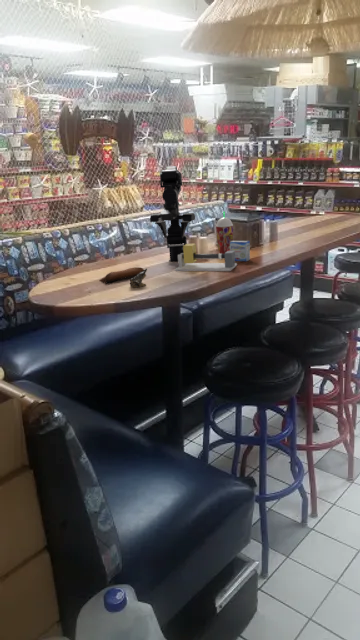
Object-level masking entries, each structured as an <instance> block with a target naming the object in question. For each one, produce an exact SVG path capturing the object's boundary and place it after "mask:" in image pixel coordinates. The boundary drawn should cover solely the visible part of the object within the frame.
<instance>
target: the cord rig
mask: <svg viewBox="0 0 360 640" xmlns="http://www.w3.org/2000/svg"><path fill="white" fill-rule="evenodd" d="M193 258H194V259H197V260H198V259H199V260H200V259H202V260H203V259H204V260H207V259H209V260H210V259H211V260H213V259H214V260H215V259H217V260H222V259H223V260H224V262H194V263H184V253H181V255H178V261H177V264H178V266H177V267H176V268H175V269H174V271H176V272H179V271H181V272H183V271H185V272H187V271H188V272H189V271H191V272H231V271H232V270H233V269H234V268H236V267H237V265H238V263H237V262H236V261H235V251H227V252H226V253H225V254H220V253H196V254H193Z"/></svg>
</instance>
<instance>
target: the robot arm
mask: <svg viewBox="0 0 360 640" xmlns="http://www.w3.org/2000/svg"><path fill="white" fill-rule="evenodd" d="M159 177H160V179H159V180H160V181H159V183H160V188H161V189H162V188H164V189H163V192H162V200H163V202H164V204H163V209H162V210H161V211H160V213H154V214H151V215H150V217H149V221H150V223H154V224H155V225H157V226H158V227H159V228H160V230H161V232H162V235H163V237H164V239H166V248H167V249H169V259H168V262H178V255H181V253H184V251H183V246H184V245H186V244H188V241H187V236H186V234H185V233H186V229H187V227H188V224H189V223H191V222H192V221H195V220H196V214H195V213H194V212H185V213H182V214H181V212H180V208H179V205H180V202H179V195H180V193H181V191H182V186H183V178H182V177H183V175H182V173H181V171H179V170H178V167H177V166H176V165H171V166H169V165H167V166H166V167H165V170H163V169H162V170H161V173H159ZM181 220H182V221H181ZM166 221H170V225H169V227H168V228H167V223H166Z"/></svg>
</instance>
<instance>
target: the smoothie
mask: <svg viewBox="0 0 360 640" xmlns="http://www.w3.org/2000/svg"><path fill="white" fill-rule="evenodd" d="M222 214H223V217H220V218H218V220H217V222H216V224H215V231H216V232H215V233H216V239H217V249H218V250H217V251H218V254H225V253H226V252H227V251H230V242H231V241H234V224H233V222H232V220H231V219H230V218H229V217H227V216H226V215H225V214H226V212H225V211H223V213H222ZM225 216H226V217H225Z"/></svg>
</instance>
